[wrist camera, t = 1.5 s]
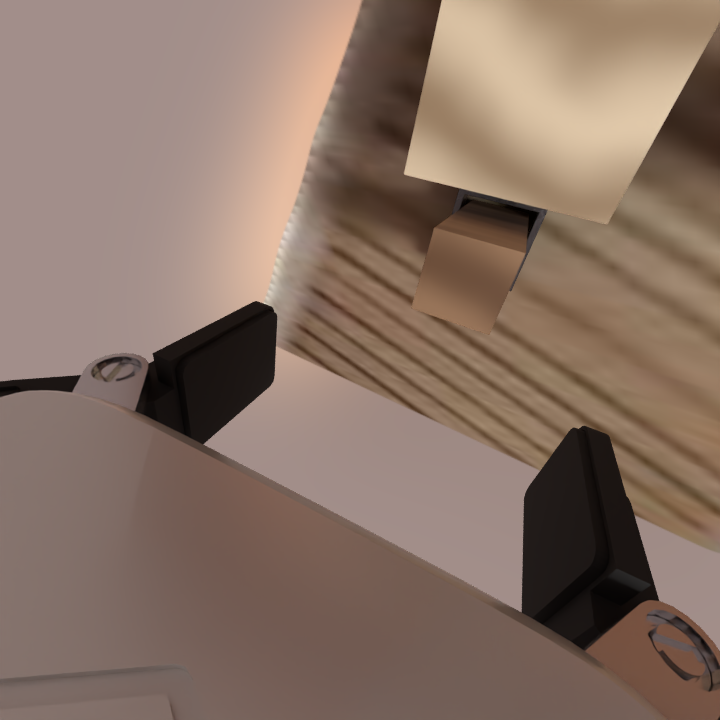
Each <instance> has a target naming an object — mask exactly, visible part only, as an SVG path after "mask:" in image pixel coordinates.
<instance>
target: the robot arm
mask: <svg viewBox="0 0 720 720" xmlns="http://www.w3.org/2000/svg"><path fill="white" fill-rule="evenodd" d="M276 332H277V314H276V313H275V312H274V310H273V308H272V307H271V306H268V305H266V304H263V303H260V302H257V301H255V302H252V303H251V304H249V305H247V306H245V307H243V308H241V309H239V310H237V311H235V312H233V313H231V314H229V315H227V316H225V317H223V318H221V319H220V320H217V321H215V322H214V323H211V324H209V325H208V326H206V327H204V328H202V329H200V330H198V331H196V332H194V333H192V334H190V335H188V336H186V337H184V338H182V339H180V340H178V341H176V342H174V343H172V344H171V345H168V346H166V347H165V348H163V349H161V350H159V351H157V352H155V353H153V357H154V361H153V362H151V363H149V364H148V362H147V360H146V359H145V358H143V357H141V356H139V355H136V354H129V353H120V354H112V355H108V356H104V357H102V358H99V359H97V360H95V361H93V362H92V363H90V364H89V365H88V366H87V367H86V368H85V370H84V371H83V373H82V375H77V376H65V377H64V376H63V377H50V378H36V379H22V380H10V381H1V382H0V720H720V651H719V650H718V648H717V647H716V645H715V644H714V642H713V641H712V640H711V639H710V638H709V637H708V635H707V634H706V633H705V632H704V631H703V630H702V629H701V628H700V627H699V626H698V625H697V624H696V623H695V622H693V621H692V620H691V619H690V618H689V617H688V616H686V615H685V614H683V613H682V612H680V611H679V610H677V609H676V608H674V607H673V606H670V605H668V604H665V603H663V602H660V601H659V599H658V595H657V592H656V588H655V585H654V581H653V578H652V574H651V571H650V568H649V564H648V561H647V557H646V554H645V551H644V547H643V544H642V540H641V537H640V533H639V530H638V527H637V523H636V519H635V516H634V513H633V509H632V506H631V503H630V501H629V499H628V497H627V496H626V493H625V490H624V486H623V483H622V479H621V476H620V472H619V469H618V465H617V462H616V458H615V455H614V451H613V447H612V444H611V440H610V437H609V435H607V434H605V433H602V432H600V431H597V430H594V429H592V428H589V427H587V426H582V427H581V428H579V429H577V428H572V429H571V430H570V431H569V432H568V434H567V435H566V436H565V438H564V439H563V440H562V442H561V443H560V445H559V446H558V447H557V449H556V450H555V451H554V453H553V454H552V456H551V457H550V458H549V460H548V461H547V462H546V464H545V465H544V467H543V468H542V469H541V471H540V472H539V473H538V475H537V476H536V478H535V479H534V480H533V482H532V483H531V484H530V486H529V487H528V489H527V491H526V493H525V497H524V527H523V528H524V530H523V531H524V532H523V578H522V613H521V612H519V611H518V610H516V609H514V608H512V607H510V606H509V605H507V604H505V603H503V602H501V601H499V600H498V599H496V598H494V597H492V596H490V595H488V594H487V593H485V592H483V591H481V590H479V589H477V588H476V587H474V586H472V585H470V584H468V583H467V582H464V581H463V580H461V579H459V578H457V577H455V576H453V575H451V574H450V573H448V572H446V571H444V570H442V569H440V568H438V567H436V566H435V565H433V564H431V563H429V562H427V561H425V560H423V559H421V558H419V557H417V556H416V555H414V554H412V553H410V552H408V551H406V550H404V549H402V548H401V547H398V546H397V545H395V544H393V543H391V542H389V541H387V540H385V539H383V538H382V537H380V536H378V535H376V534H374V533H372V532H370V531H368V530H366V529H364V528H363V527H361V526H359V525H357V524H355V523H353V522H351V521H349V520H347V519H345V518H343V517H342V516H340V515H338V514H336V513H334V512H332V511H330V510H328V509H326V508H324V507H323V506H321V505H319V504H317V503H315V502H313V501H311V500H309V499H307V498H305V497H303V496H301V495H300V494H298V493H296V492H294V491H292V490H290V489H288V488H286V487H284V486H282V485H280V484H278V483H276V482H275V481H273V480H271V479H269V478H267V477H265V476H263V475H261V474H259V473H257V472H255V471H253V470H251V469H250V468H248V467H246V466H244V465H242V464H239V463H238V462H236V461H234V460H232V459H230V458H228V457H226V456H224V455H222V454H220V453H218V452H217V451H214V450H213V449H211V448H208V447H207V446H205V445H203V444H204V443H205V442H206V441H207V440H208V439H210V438H211V437H212V436H213V435H214V434H215V433H217V432H218V431H219V430H220V429H221V428H222V427H224V426H225V425H226V424H227V423H228V422H229V421H231V420H232V419H233V418H234V417H235V416H236V415H237V414H239V413H240V412H241V411H242V410H243V409H244V408H245V407H247V406H248V405H249V404H250V403H251V402H252V401H254V400H255V399H256V398H257V397H258V396H259V395H260V394H262V393H263V392H264V391H265V390H266V389H267V388H269V387H270V386H271V384H272V382H273V380H274V375H275V374H274V373H275V353H276Z"/></svg>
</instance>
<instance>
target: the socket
mask: <svg viewBox="0 0 720 720" xmlns="http://www.w3.org/2000/svg"><path fill="white" fill-rule="evenodd" d="M468 195H471V196H475V197H479V198H483V199H487V200H491V201H495V202H499V203H503V204H507V205H511V206H515V207H519V208H524V209H528V210H532V211H536V212H537V214H536V216H535V218H534V221H533V223H532V225H531V227H530V230H529V232H528V234H527V245H526V254H525V256H524V258H523V261H522V263H521V265H520V267H519V270H518V272H517V274H516V276H515V279H514V281H513V283H512V285H511V287H510V290H509V291H511V290H512V288H513V286H514V284H515V281H516V279H517V277H518V275H519V272H520V270H521V268H522V266H523V264H524V261H525V259H526V257H527V255H528V253H529V250H530V248H531V246H532V244H533V241H534V239H535V237H536V235H537V233H538V230H539V228H540V226H541V224H542V222H543V219H544V217H545V215H546V213H547V210H546V209H542V208H538V207H534V206H530V205H526V204H522V203H518V202H514V201H510V200H506V199H501V198H497V197H493V196H489V195H485V194H481V193H477V192H473V191H469V190H465V189H461V188H460V189H459V192H458V196H457V199H456V202H455V205H454V209H453V212H452V215H453V214H454V213H455V212H457V211H458V210H460V209H461V208H462V207H464V206H465V203H466V200H467V197H468Z"/></svg>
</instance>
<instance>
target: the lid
mask: <svg viewBox="0 0 720 720" xmlns="http://www.w3.org/2000/svg"><path fill="white" fill-rule="evenodd" d="M719 22H720V0H442V2H441V7H440V11H439V16H438V20H437V25H436V29H435V34H434V39H433V43H432V48H431V52H430V57H429V61H428V66H427V71H426V75H425V80H424V84H423V89H422V93H421V98H420V103H419V107H418V112H417V116H416V121H415V126H414V130H413V135H412V139H411V144H410V148H409V153H408V158H407V162H406V167H405V171H404V175H408V176H412V177H416V178H420V179H424V180H428V181H432V182H436V183H440V184H445V185H449V186H453V187H457V188H461V189H465V190H469V191H473V192H477V193H481V194H485V195H489V196H493V197H497V198H501V199H506V200H510V201H514V202H518V203H522V204H526V205H530V206H534V207H538V208H542V209H546V210H550V211H554V212H558V213H563V214H567V215H571V216H575V217H579V218H583V219H587V220H591V221H595V222H599V223H603V224H608V222H609V220H610V218H611V217H612V215H613V213H614V211H615V209H616V208H617V206H618V204H619V202H620V200H621V199H622V197H623V195H624V193H625V191H626V190H627V188H628V186H629V184H630V182H631V181H632V179H633V177H634V175H635V173H636V172H637V170H638V168H639V166H640V164H641V163H642V161H643V159H644V157H645V155H646V154H647V152H648V150H649V148H650V146H651V145H652V143H653V141H654V139H655V137H656V136H657V134H658V132H659V130H660V128H661V127H662V125H663V123H664V121H665V119H666V118H667V116H668V114H669V112H670V110H671V109H672V107H673V105H674V103H675V101H676V100H677V98H678V96H679V94H680V92H681V91H682V89H683V87H684V85H685V83H686V82H687V80H688V78H689V76H690V74H691V73H692V71H693V69H694V67H695V65H696V64H697V62H698V60H699V58H700V56H701V55H702V53H703V51H704V49H705V47H706V46H707V44H708V42H709V40H710V38H711V37H712V35H713V33H714V31H715V29H716V28H717V26H718V24H719Z"/></svg>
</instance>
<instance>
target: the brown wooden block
mask: <svg viewBox="0 0 720 720" xmlns="http://www.w3.org/2000/svg"><path fill="white" fill-rule="evenodd" d="M528 219H529V213H525V212H521V211H517V210H513V209H509V208H505V207H501V206H497V205H493V204H489V203H485V202H481V201H477V200H472V201H471V202H469V203H468V204H467V205H465V206H464V207H462V208H461V209H460V210H458V211H457V212H455V213H454V214H453V215H451V216H450V217H448V218H447V219H446V220H444V221H443V222H441V223H440V224H439V225H437V226H436V227H434V230H433V234H432V237H431V241H430V244H429V248H428V251H427V255H426V258H425V262H424V265H423V269H422V272H421V276H420V279H419V283H418V286H417V290H416V293H415V297H414V300H413V304H412V307H411V308H412V309H415V310H418V311H421V312H424V313H427V314H430V315H432V316H435V317H438V318H441V319H444V320H447V321H450V322H453V323H456V324H459V325H462V326H464V327H467V328H470V329H473V330H476V331H479V332H482V333H485V334H488V335H489V334H490V332H491V330H492V328H493V325H494V323H495V321H496V319H497V317H498V314H499V312H500V310H501V308H502V305H503V303H504V301H505V299H506V296H507V294H508V292H509V290H510V287H511V285H512V283H513V281H514V279H515V276H516V274H517V272H518V270H519V267H520V265H521V263H522V261H523V258H524V256H525V254H526V245H527V232H528Z"/></svg>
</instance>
